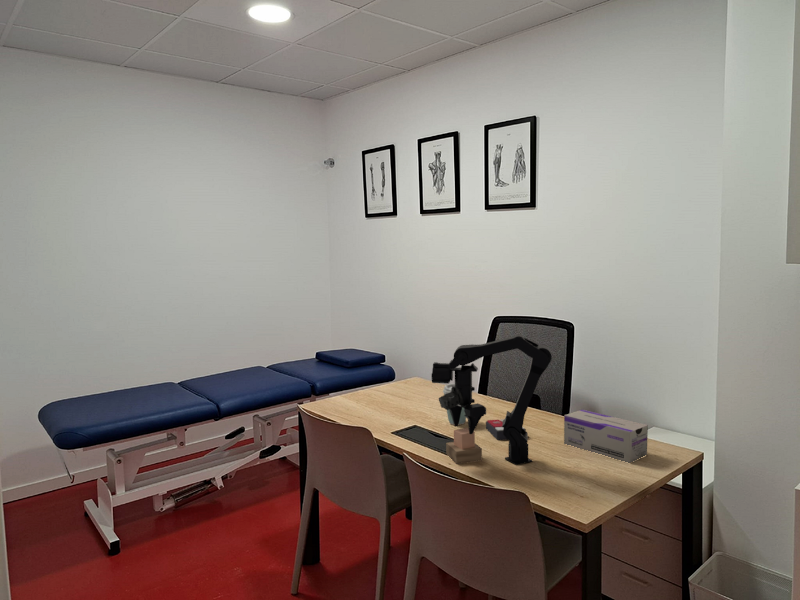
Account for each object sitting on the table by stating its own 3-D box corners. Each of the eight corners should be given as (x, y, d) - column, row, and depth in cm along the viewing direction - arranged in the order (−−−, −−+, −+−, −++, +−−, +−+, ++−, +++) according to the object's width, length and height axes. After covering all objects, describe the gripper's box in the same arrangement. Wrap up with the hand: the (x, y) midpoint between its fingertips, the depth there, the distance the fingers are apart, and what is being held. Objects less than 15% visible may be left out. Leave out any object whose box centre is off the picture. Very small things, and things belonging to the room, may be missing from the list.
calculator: (512, 417, 229) (526, 427, 214) (512, 428, 229) (526, 439, 214) (485, 419, 228) (497, 429, 213) (485, 430, 228) (497, 441, 213)
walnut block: (481, 461, 193) (481, 448, 193) (456, 465, 191) (456, 451, 190) (470, 452, 202) (470, 439, 201) (446, 455, 199) (446, 442, 199)
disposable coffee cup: (474, 421, 236) (474, 384, 235) (463, 428, 227) (463, 390, 226) (450, 417, 242) (450, 381, 240) (438, 424, 233) (438, 387, 231)
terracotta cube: (474, 446, 195) (474, 431, 194) (462, 449, 192) (461, 434, 192) (466, 442, 199) (466, 427, 199) (453, 444, 197) (453, 430, 196)
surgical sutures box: (564, 444, 208) (564, 415, 207) (581, 438, 214) (582, 409, 213) (629, 464, 188) (630, 432, 187) (647, 456, 195) (647, 425, 194)
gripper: (428, 381, 199) (428, 426, 200) (457, 393, 182) (457, 442, 184) (456, 377, 204) (456, 421, 205) (487, 388, 187) (487, 436, 188)
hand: (463, 430), depth 195 cm, fingers open, 9 cm apart
